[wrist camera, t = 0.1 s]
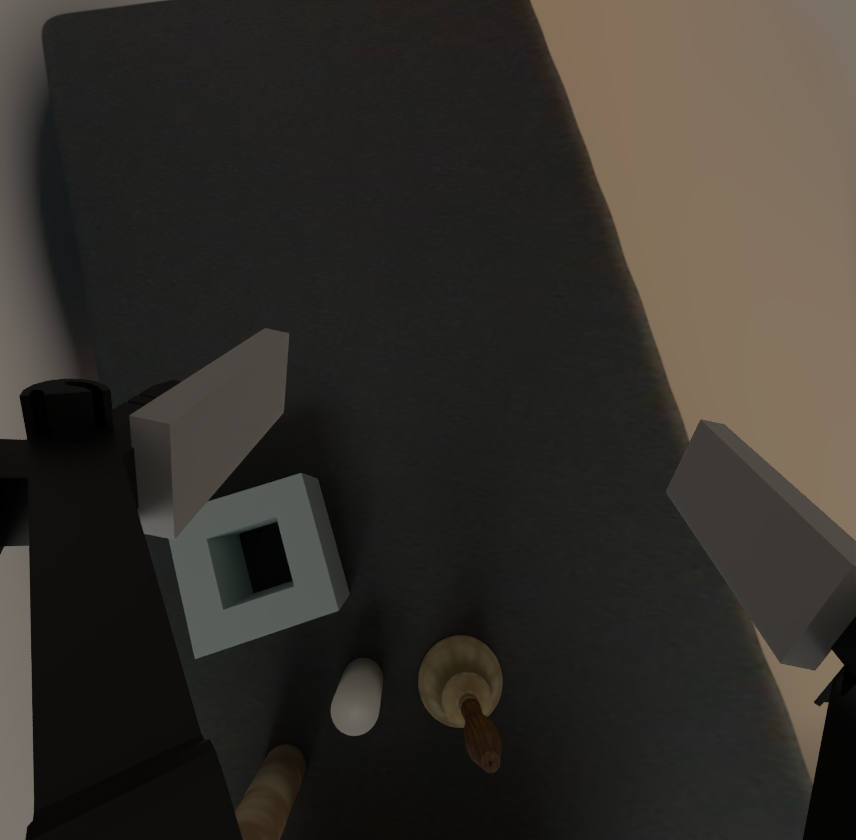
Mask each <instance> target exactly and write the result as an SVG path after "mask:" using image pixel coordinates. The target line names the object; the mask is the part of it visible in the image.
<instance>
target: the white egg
mask: <svg viewBox="0 0 856 840" xmlns="http://www.w3.org/2000/svg"><path fill="white" fill-rule="evenodd" d="M382 687H383V673H382V670H381V668H380V666H379V665H378V664H377V663H376V662H375V661H373V660H371V659H368V658H358V659H355V660H353V661H352V662H351V663H349V664H348V665H347V667H346V668H345V670H344V672H343V675H342V677H341V680H340V683H339V685H338V688H337V690H336V693H335V695H334V698H333V701H332V704H331V717H332V721H333V723H334V725H335V726H336V727H337V729H338V730H339V731H341V732H342V733H344V734H346V735H349V736H359V735H362V734H364V733H366V732H368V731H369V730H370V729H371V728H372V727H373V726H374V724H375V723H376V721H377V719H378V715H379V709H380V702H381V695H382Z"/></svg>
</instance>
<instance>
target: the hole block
mask: <svg viewBox="0 0 856 840" xmlns="http://www.w3.org/2000/svg"><path fill="white" fill-rule="evenodd" d="M275 522H278V525H279V529H280V533H281V537H282V541H283V545H284V549H285V553H286V556H287V560H288V564H289V568H290V572H291V576H292V580H293V581H290V582H287V583H284V584H280V585H277V586H274V587H271V588H268V589H265V590H262V591H259V592H256V593H253V590H252V586H251V582H250V578H249V574H248V570H247V566H246V561H245V557H244V553H243V549H242V545H241V541H240V537H239V534H241V533H244V532H247V531H250V530H253V529H256V528H260V527H263V526H266V525H269V524H272V523H275ZM169 543H170V548H171V552H172V557H173V561H174V566H175V570H176V575H177V580H178V584H179V589H180V593H181V598H182V602H183V607H184V611H185V616H186V620H187V625H188V629H189V634H190V639H191V643H192V648H193V652H194V657H195V659H197V658H200V657H203V656H206V655H209V654H212V653H215V652H218V651H221V650H224V649H227V648H230V647H233V646H236V645H239V644H241V643H244V642H247V641H250V640H253V639H256V638H259V637H262V636H265V635H268V634H271V633H274V632H277V631H280V630H283V629H286V628H289V627H292V626H295V625H298V624H301V623H304V622H307V621H310V620H313V619H316V618H319V617H322V616H325V615H328V614H330V613H333V612H336V611H339V610H340V608H341V607H342V605H343V604H344V602H345V601H346V599H347V598H348V596H349V595H350V593H349V589H348V586H347V582H346V578H345V575H344V571H343V568H342V564H341V560H340V557H339V553H338V550H337V546H336V542H335V539H334V535H333V531H332V528H331V524H330V521H329V517H328V513H327V510H326V506H325V502H324V499H323V495H322V492H321V488H320V484H319V481H318V478H315V477H312V476H309V475H306V474H303V473H299V474H296V475H293V476H290V477H286V478H283V479H280V480H277V481H273V482H270V483H267V484H263V485H260V486H257V487H254V488H250V489H247V490H244V491H241V492H237V493H234V494H231V495H228V496H224V497H221V498H218V499H215V500H211V501H208V502H206V504H205V505H204V506H203V507H202V508H201V509H200V511H199V512H198V513H197V514H196V515H195V516H194V518H193V519H192V520H191V521H190V522H189V523H188V525H187V526H186V527H185V528H184V529H183V530H182V532H181V533H180V534H179V535H178V536H177V537H176V539H175V540H173V539H169Z"/></svg>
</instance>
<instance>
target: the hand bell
mask: <svg viewBox="0 0 856 840" xmlns="http://www.w3.org/2000/svg"><path fill="white" fill-rule="evenodd" d="M502 688H503V676H502V670H501V666H500V664H499V661H498V659H497V657H496V656H495V654H494V652H493V651H492V650H491V649H490V648H489V647H488V646H487V645H486V644H485V643H483V642H482V641H480V640H478V639H476V638H474V637H471V636H466V635H455V636H450V637H447V638H445V639H442V640H441V641H439V642H437V643H436V644H435V645H434V646H433V647H431V649H430V650H429V651H428V652H427V653H426V655H425V657H424V659H423V661H422V663H421V666H420V669H419V674H418V689H419V694H420V697H421V700H422V702H423V704H424V706H425V708H426V709H427V711H428V712H429V713H430V714H431V715H432V716H433V717H434V718H435V719H436V720H437V721H439V722H441V723H442V724H445V725H447V726H450V727H455V728H464V742H465V746H466V749H467V752H468V754H469V756H470V757H471V759H472V760H473V761H474V762H475V763H476V764H477V765H479V766H480V767H482V768H483V769H484V770H485V771H486V772H488V773H493V772H496V771H497V769H498V768H499V766H500V758H501V753H502V742H501V737H500V734H499V732H498V730H497V728H496V726H495V724H494V723H493V722H492V721H491V720H490V719H489V718H488V716H489V715H490V714H491V713H492V712H493V710H494V709H495V707H496V706H497V704H498V702H499V700H500V697H501V693H502Z"/></svg>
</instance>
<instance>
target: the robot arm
mask: <svg viewBox="0 0 856 840" xmlns="http://www.w3.org/2000/svg"><path fill="white" fill-rule="evenodd" d="M288 345H289V333H286V332H281V331H276V330H271V329H267V328H265V329H263V330H261V331H260V332H258V333H257V334H255V335H254V336H252V337H251V338H249V339H247V340H246V341H244V342H243V343H241V344H240V345H238V346H237V347H235V348H233V349H232V350H230V351H229V352H227V353H226V354H224V355H223V356H221V357H219V358H218V359H216V360H215V361H213V362H212V363H210V364H209V365H207V366H205V367H204V368H202V369H201V370H199V371H198V372H196V373H195V374H193V375H191V376H190V377H188V378H187V379H185V380H184V381H182V382H180V381H176V380H172V381H168V382H164V383H161V384H157V385H153V386H152V387H150V388H148V389H147V390H145V391H143V392H142V393H140V394H139V396H135V397H133V398H132V399H130V400H128V403H126V402H125V403H123V404H122V405H120V406H118V407H117V408H115V409H113V410H112V402H111V392H110V389H109V388H108V387H107V386H106V385H104V384H101V383H99V382H96V381H91V380H83V379H59V380H50V381H45V382H42V383H38V384H34V385H32V386H30V387H28V388H26V389H24V390H23V392H22V393H21V395H20V401H21V407H22V412H23V418H24V423H25V429H26V434H27V440H10V439H0V554H1V551H2V550H3V547H4V546H28V545H29V552H30V553H29V554H30V607H31V659H32V706H33V707H32V709H33V759H34V816H33V821H32V822H31V823H30V824H29V825H28V827H27V833H26V840H243V838H242V835H241V831H240V828H239V825H238V822H237V818H236V815H235V812H234V808H233V805H232V802H231V798H230V795H229V792H228V788H227V785H226V782H225V778H224V775H223V772H222V768H221V766H220V763H219V760H218V757H217V754H216V751H215V749H214V747H213V745H212V743H211V741H210V740H204V738H203V736H202V734H201V731H200V728H199V725H198V721H197V718H196V714H195V711H194V707H193V704H192V700H191V697H190V693H189V690H188V686H187V683H186V679H185V676H184V672H183V669H182V665H181V662H180V658H179V655H178V651H177V648H176V644H175V641H174V637H173V634H172V630H171V627H170V623H169V620H168V616H167V613H166V609H165V606H164V602H163V599H162V595H161V592H160V588H159V585H158V581H157V578H156V574H155V570H154V567H153V563H152V560H151V556H150V553H149V549H148V546H147V542H146V539H145V535H144V534H149V535H154V536H159V537H163V538H168V539H173V540H175V539H176V537H177V536H178V535H179V534H180V533H181V532H182V530H183V529H184V528H185V527H186V526H187V525H188V523H189V522H190V521H191V520H192V519H193V518H194V516H195V515H196V514H197V513H198V512H199V511H200V509H201V508H202V507H203V506H204V505H205V504H206V502H207V501H208V500H209V499H210V498H211V497H212V495H213V494H214V493H215V492H216V491H217V490H218V488H219V487H220V486H221V485H222V484H223V483H224V481H225V480H226V479H227V478H228V477H229V476H230V475H231V473H232V472H233V471H234V470H235V469H236V468H237V466H238V465H239V464H240V463H241V462H242V461H243V459H244V458H245V457H246V456H247V455H248V454H249V452H250V451H251V450H252V449H253V448H254V447H255V445H256V444H257V443H258V442H259V441H260V440H261V438H262V437H263V436H264V435H265V434H266V433H267V431H268V430H269V429H270V428H271V427H272V426H273V424H274V423H275V422H276V421H277V420H278V419H279V417H280V416H281V415H282V414H283V413H284V401H285V387H286V373H287V359H288ZM666 493H667V495H668V496H669V498H670V499H671V501H672V502H673V504H674V505H675V507H676V508H677V510H678V511H679V513H680V514H681V516H682V517H683V519H684V520H685V522H686V523H687V524H688V526H689V527H690V529H691V530H692V532H693V533H694V535H695V536H696V538H697V539H698V541H699V542H700V544H701V545H702V547H703V548H704V550H705V551H706V553H707V554H708V556H709V557H710V559H711V560H712V562H713V563H714V565H715V566H716V568H717V569H718V571H719V572H720V574H721V575H722V577H723V578H724V580H725V581H726V583H727V584H728V586H729V587H730V589H731V590H732V592H733V593H734V595H735V596H736V598H737V599H738V601H739V602H740V604H741V605H742V607H743V608H744V610H745V611H746V613H747V614H748V616H749V617H750V619H751V620H752V622H753V623H754V625H755V626H756V628H757V629H758V630H759V632H760V633H761V635H762V636H763V638H764V639H765V641H766V642H767V644H768V645H769V647H770V648H771V650H772V651H773V653H774V654H775V656H776V657H777V659H778V660H779V662H780V663H781V664H786V665H792V666H796V667H801V668H806V669H811V670H816V669H817V667H818V666H819V665H820V664H821V662H822V661H823V660H824V659H825V657H826V656H827V655H828V654H829V652H830V651H831V650H833V651H834V653H835V654H836V655H837V657H838V658H839V659H840V660H841V662H842V663H843V664H844V666H843V667H842V669H841V670H840V671H839V672H838V674H837V675H836V676H835V677H834V678H833V680H832V681H831V682H830V683H829V685H828V686H827V687H826V688H825V689H824V691H823V692H822V693H821V694H820V695H819V697H818V698H817V699H816V700H815V701H814V703H815V704H817V705H818V706H821V705H822V704H823V703H824V702H829V704H828V709H827V715H826V720H825V725H824V730H823V736H822V741H821V746H820V752H819V757H818V762H817V767H816V773H815V778H814V783H813V789H812V794H811V799H810V804H809V810H808V815H807V820H806V826H805V831H804V836H803V840H856V541H855V540H854V539H853V538H852V537H851V536H849V535H848V534H847V533H846V532H845V531H844V530H843V529H841V528H840V527H839V526H838V525H837V524H836V523H835V522H834V521H832V520H831V519H830V518H829V517H828V516H827V515H826V514H825V513H824V512H822V511H821V510H820V509H819V508H818V507H817V506H816V505H815V504H813V503H812V502H811V501H810V500H809V499H808V498H807V497H806V496H804V495H803V494H802V493H801V492H800V491H799V490H798V489H796V488H795V487H794V486H793V485H792V484H791V483H789V481H787V480H786V479H785V478H784V477H783V476H782V475H781V474H780V473H778V472H777V471H776V470H775V469H774V468H773V467H772V466H771V465H769V464H768V463H767V462H766V461H765V460H764V459H763V458H762V457H760V456H759V455H758V454H757V453H756V452H755V451H754V450H753V449H751V448H750V447H749V446H748V445H747V444H746V443H745V442H744V441H742V440H741V439H740V438H739V437H738V436H737V435H736V434H734V433H733V432H732V431H731V430H730V429H729V428H728V427H727V426H726V425H724V424H720V423H715V422H710V421H705V420H700V422H699V424H698V426H697V428H696V430H695V432H694V434H693V436H692V438H691V440H690V443H689V445H688V447H687V449H686V451H685V453H684V455H683V457H682V459H681V461H680V463H679V465H678V467H677V469H676V472H675V474H674V476H673V478H672V480H671V482H670V484H669V486H668V488H667V490H666Z"/></svg>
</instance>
